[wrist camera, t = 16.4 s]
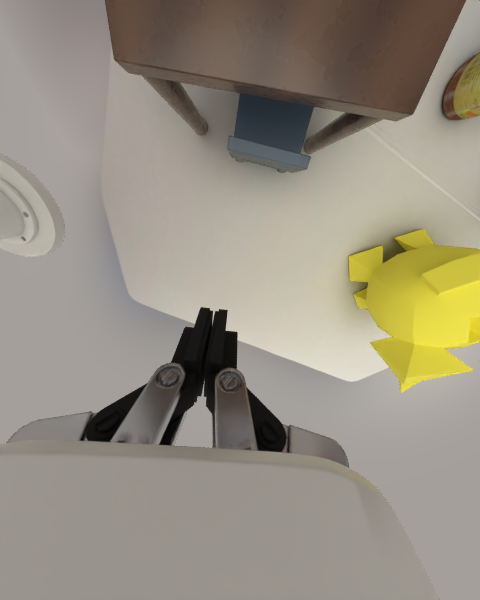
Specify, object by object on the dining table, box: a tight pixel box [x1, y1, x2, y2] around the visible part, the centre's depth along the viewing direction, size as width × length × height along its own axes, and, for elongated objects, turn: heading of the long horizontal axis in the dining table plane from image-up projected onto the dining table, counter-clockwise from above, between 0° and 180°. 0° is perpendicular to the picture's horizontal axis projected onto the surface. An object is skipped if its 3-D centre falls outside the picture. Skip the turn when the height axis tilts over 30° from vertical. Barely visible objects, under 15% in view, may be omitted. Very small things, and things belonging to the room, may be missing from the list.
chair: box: [228, 93, 314, 173], centre depth 21 cm, size 8×8×12 cm
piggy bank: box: [349, 229, 480, 393], centre depth 29 cm, size 20×20×19 cm
